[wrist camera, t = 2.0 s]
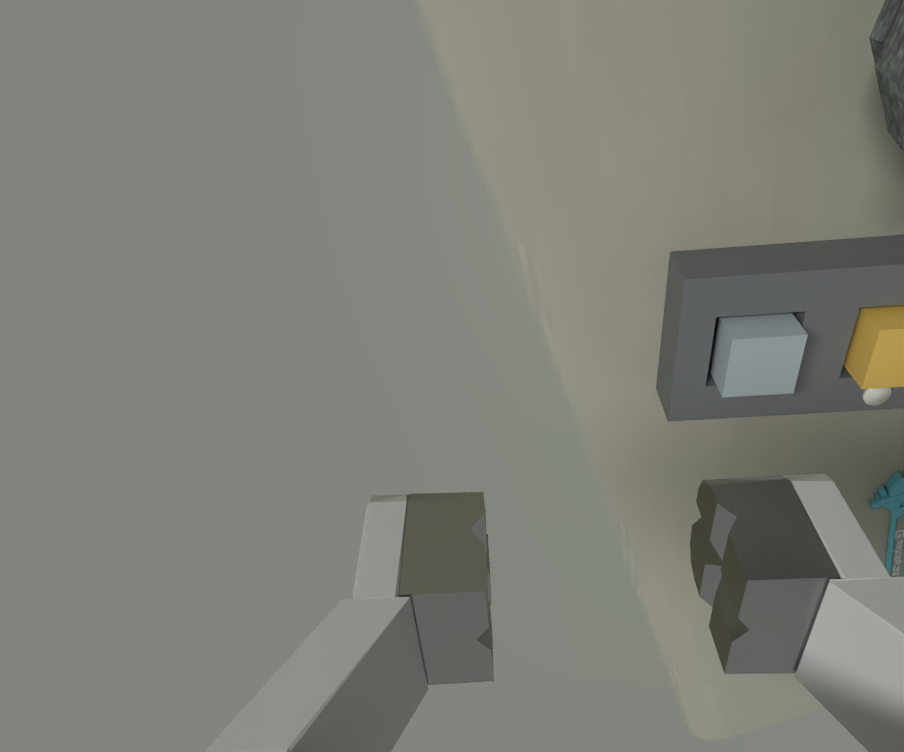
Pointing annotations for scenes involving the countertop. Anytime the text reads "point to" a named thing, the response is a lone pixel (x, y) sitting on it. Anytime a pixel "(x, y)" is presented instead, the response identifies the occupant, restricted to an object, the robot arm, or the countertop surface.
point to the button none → (758, 354)
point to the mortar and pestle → (891, 65)
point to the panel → (767, 292)
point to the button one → (877, 348)
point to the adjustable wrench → (892, 516)
